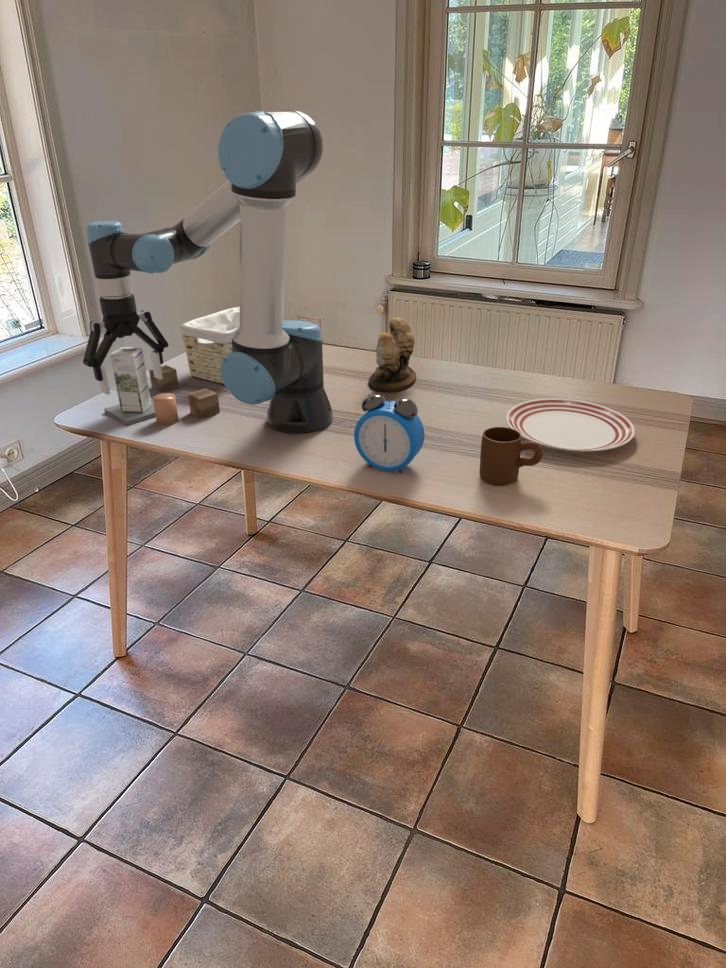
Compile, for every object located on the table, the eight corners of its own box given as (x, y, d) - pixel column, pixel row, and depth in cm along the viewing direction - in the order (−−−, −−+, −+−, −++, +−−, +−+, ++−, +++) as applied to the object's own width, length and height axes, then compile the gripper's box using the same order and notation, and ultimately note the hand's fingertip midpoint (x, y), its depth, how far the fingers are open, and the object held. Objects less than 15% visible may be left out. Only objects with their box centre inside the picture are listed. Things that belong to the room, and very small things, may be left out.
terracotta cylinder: (182, 421, 170) (179, 397, 167) (163, 427, 167) (159, 403, 164) (171, 415, 173) (168, 391, 170) (152, 421, 170) (148, 397, 167)
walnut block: (220, 412, 174) (217, 393, 172) (202, 418, 171) (199, 399, 169) (208, 407, 177) (205, 388, 175) (190, 413, 174) (187, 393, 172)
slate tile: (169, 412, 175) (168, 408, 174) (127, 425, 168) (126, 421, 167) (146, 400, 182) (145, 396, 181) (105, 412, 175) (104, 408, 174)
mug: (545, 479, 142) (550, 435, 137) (532, 496, 136) (537, 450, 132) (487, 466, 147) (490, 423, 143) (473, 481, 141) (475, 437, 137)
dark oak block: (178, 387, 189) (176, 369, 187) (161, 392, 186) (158, 374, 184) (168, 383, 192) (166, 365, 190) (151, 388, 189) (148, 369, 187)
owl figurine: (381, 368, 201) (381, 306, 192) (422, 372, 197) (425, 309, 189) (361, 390, 185) (360, 324, 177) (405, 395, 182) (407, 328, 174)
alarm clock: (353, 466, 148) (352, 398, 141) (365, 454, 153) (364, 387, 146) (414, 478, 143) (415, 407, 136) (424, 464, 148) (426, 396, 141)
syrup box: (152, 404, 177) (142, 346, 170) (143, 413, 171) (133, 354, 164) (129, 403, 177) (119, 345, 170) (120, 412, 172) (109, 353, 165)
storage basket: (243, 353, 213) (238, 303, 206) (286, 362, 205) (283, 311, 198) (184, 377, 196) (176, 324, 189) (228, 389, 188) (222, 333, 181)
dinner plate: (645, 424, 165) (648, 411, 163) (615, 473, 144) (618, 458, 142) (528, 402, 177) (530, 389, 176) (485, 444, 157) (486, 430, 155)
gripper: (157, 282, 171) (171, 368, 181) (54, 303, 156) (75, 395, 166) (174, 287, 166) (187, 375, 176) (69, 308, 151) (89, 403, 161)
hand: (133, 385), depth 171 cm, fingers open, 13 cm apart
